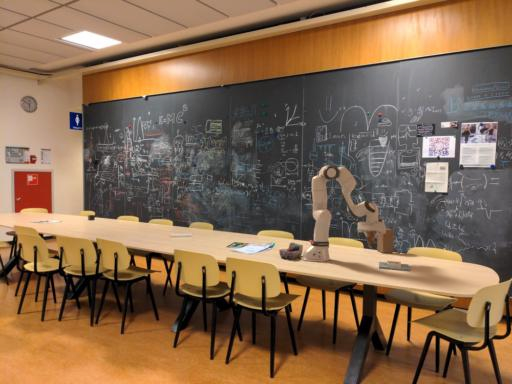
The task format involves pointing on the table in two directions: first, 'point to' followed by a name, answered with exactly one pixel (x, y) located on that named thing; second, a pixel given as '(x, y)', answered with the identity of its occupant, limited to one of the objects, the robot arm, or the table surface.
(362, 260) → the table surface
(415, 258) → the table surface
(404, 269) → the board
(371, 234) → the pillar
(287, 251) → the cell model
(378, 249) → the block
